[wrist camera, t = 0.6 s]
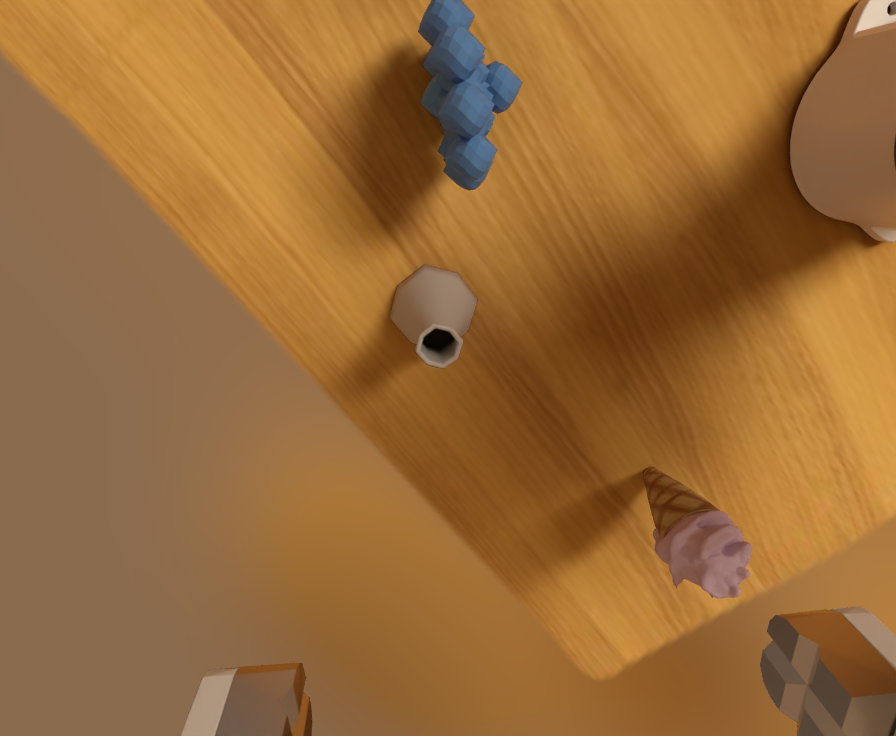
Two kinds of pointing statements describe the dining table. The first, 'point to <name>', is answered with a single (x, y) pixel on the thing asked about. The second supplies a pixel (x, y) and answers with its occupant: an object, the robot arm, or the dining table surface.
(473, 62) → the grapes
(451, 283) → the flask
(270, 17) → the dining table surface
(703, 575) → the ice cream cone
